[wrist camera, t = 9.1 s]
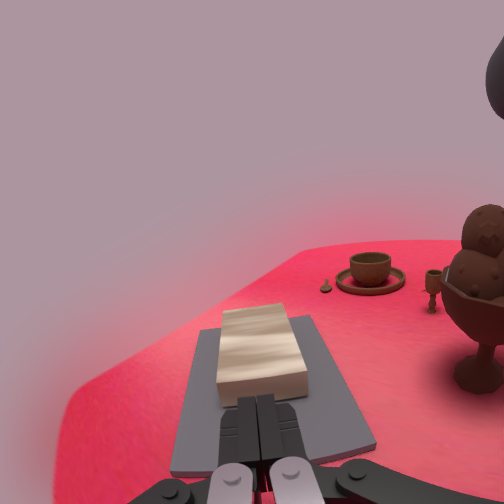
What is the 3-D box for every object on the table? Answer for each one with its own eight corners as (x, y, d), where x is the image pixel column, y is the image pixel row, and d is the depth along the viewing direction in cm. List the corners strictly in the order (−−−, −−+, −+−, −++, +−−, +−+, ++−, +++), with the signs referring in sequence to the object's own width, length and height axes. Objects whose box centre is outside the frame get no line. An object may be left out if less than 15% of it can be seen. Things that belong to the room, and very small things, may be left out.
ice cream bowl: (415, 407, 18) (436, 214, 15) (438, 339, 26) (446, 198, 23) (526, 420, 11) (581, 222, 8) (521, 347, 19) (542, 201, 16)
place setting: (412, 270, 49) (412, 239, 48) (447, 318, 31) (451, 274, 29) (322, 276, 54) (320, 245, 53) (316, 328, 36) (313, 284, 34)
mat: (201, 335, 37) (200, 330, 37) (309, 320, 37) (309, 314, 37) (172, 476, 15) (169, 470, 15) (375, 449, 15) (376, 442, 15)
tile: (223, 409, 22) (227, 332, 35) (308, 397, 22) (284, 324, 35) (216, 382, 21) (223, 310, 35) (307, 370, 21) (282, 302, 35)
